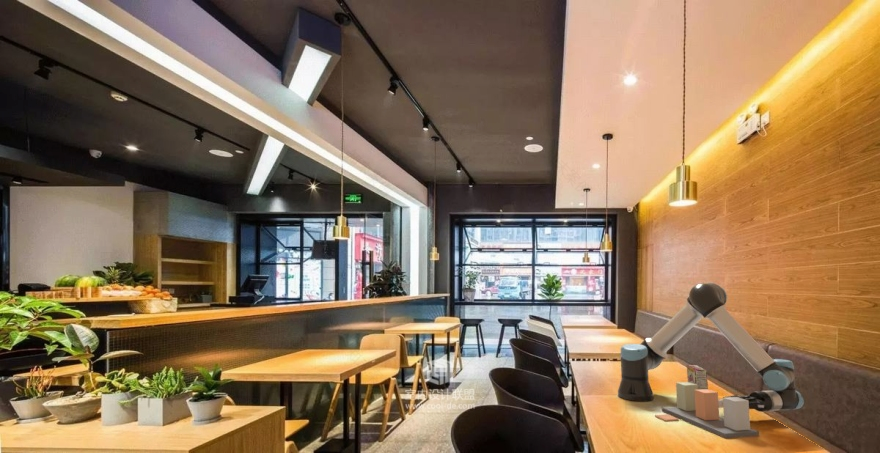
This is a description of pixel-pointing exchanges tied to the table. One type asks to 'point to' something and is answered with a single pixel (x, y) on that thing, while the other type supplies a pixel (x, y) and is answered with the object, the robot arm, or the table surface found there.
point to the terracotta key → (706, 404)
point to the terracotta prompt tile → (667, 417)
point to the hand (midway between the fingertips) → (714, 403)
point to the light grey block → (736, 413)
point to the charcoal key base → (709, 423)
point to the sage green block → (686, 395)
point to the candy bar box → (697, 376)
